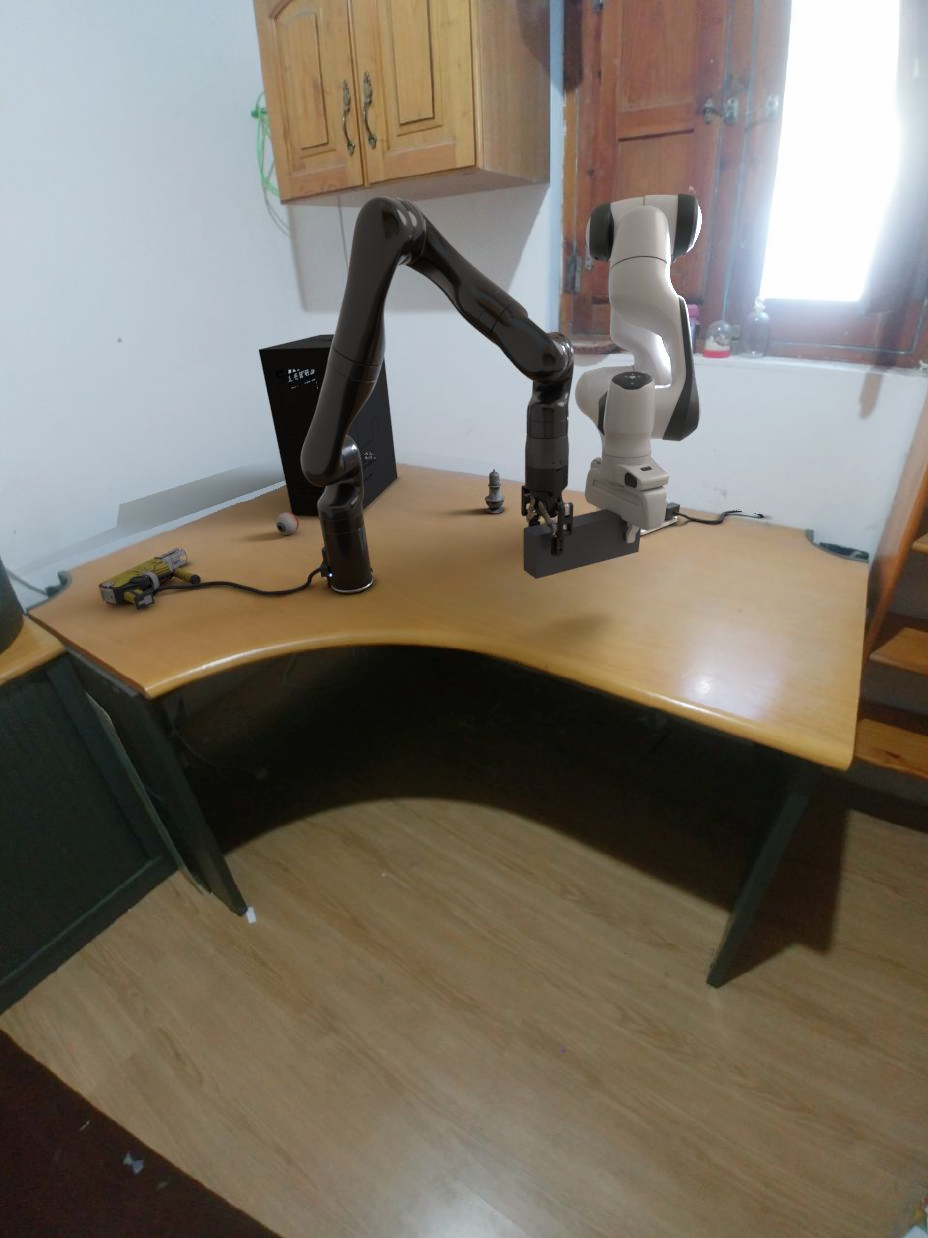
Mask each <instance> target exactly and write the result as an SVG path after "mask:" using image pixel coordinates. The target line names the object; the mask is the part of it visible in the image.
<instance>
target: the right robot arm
mask: <svg viewBox="0 0 928 1238" xmlns="http://www.w3.org/2000/svg"><path fill="white" fill-rule="evenodd" d="M700 208H701V207H700V206H699V200H698V199H697V197H696V196H695V195H692V194H687V193H681V192H679V193H678V194H645V195H644V196H638V197H631V198H626V199H620V200H616V201H613V202H612V201H611V200H609V201H605V202H602V203H599V204H597V205H596V206H595V207H594V208H593V209H592V211H591V212H590V216H589V219H588V221H587V224H586V228H585V242H586V246H587V250H588V252H589V256H590V257H591V258H592V259H593V260H594V261H595V262H600V263H604V264H605V263H606V264H608V263H609V269H608V270H609V271H608V272H609V273H608V301H609V304H610V318H609V319H610V321H609V336H610V338H611V341H612V342H613V343H614V344H615V345H616V346H618V347H619V348H621V349H623V350H624V351H627V352H629V353H631V354H632V357H633V363H634V364H631V365H619V366H603V367H598V368H595V369H590V370H587V371H584V372H583V373H582V374H581V376H580V377H579V378H578V379H577V383H576V385H575V390H574V400H575V403H576V405H577V407H578V409H579V410H580V412H582V414H583V415H585V416H586V417H588V418H589V419H590V420H591V421H592V422H593V424H594V426H595V427H596V429H597V431H598V434H599V436H600V437H599V438H600V443H601V457H600V456H598V457H595V458H594V459H592V461H591V462H590V465H589V466H590V468H589V470H588V472H587V475H586V482H585V489H584V498H585V501H586V503H588V504H589V505H592V506H594V507H595V511H594V512H596V511H600V510H604V509H608V510H610V511H612V512H614V513H616V514H618V515H620V516H621V519H623V520H625V521H627V522H628V523H627V526H628V527H629V529H628V531H627V532H625V533H623V540H624V541H625V542H627V543H632V542H634V541H635V534H636V533H637V531H638V530H639V528H641V532H640V536H645V535H646V534H650V533H652V532H654V531H657V530H660V529H662V528H665V527H668V526H670V525H672V524H675V523H677V522H678V516H680V517H682V518H685V519H686V520H689V521H694V522H698V523H703V524H718V523H722V521H724V517H725V515H730V514H735V513H737V514H738V513H743V512H742V511H737V510H738V509H733V510H725V511H724V512H722V513H721V515H720V518H719V519H715V520H714V519H713V520H711V519H710V520H709V519H701V518H696V517H693V516H689V515H687V514H685V513H682V512H680V510H681V504H680V503H676V502H673V501H672V502H670V501H669V498H668V493H667V490H666V488H665V486H667V485H668V484H669V481H670V475H669V473H668V472H667V470H665V469H664V468H662V467H661V466H660V465H659V464H658V463H657V462H656V460H655V459H654V458H652V444H651V440H662V441H669V442H681V441H683V440H684V439H686V438H687V437H689V436H690V435H692V434H693V433H694V432H695V431H696V430H697V429H698V427H699V424H700V421H701V415H702V406H701V405H702V403H701V400H700V395H699V391H698V383H697V378H696V370H695V361H694V351H693V341H692V332H691V325H690V316H689V310H688V307H687V303H686V301H685V298H684V297H682V296H681V295H679V294H677V293H676V291H675V289H674V287H673V285H672V283H671V277H670V271H671V269H670V268H671V267H670V266H671V264H675V263H676V260H677V259H678V258H681V257H682V256H685V255H686V254H687V253H688V252H689V251H690V250H691V249H693V248H694V245H695V242H696V240H697V238H698V236H699V233H700V230H701V225H702V213H701V209H700ZM663 341H664V342H663ZM664 343H666V344H665V345H666V346H667V350H668V352H667V351H666V348H665V346H664ZM735 510H736V511H735ZM754 514H755V515H757V516H758V517H759V518H762V519H765V518H766V517H765V516H764V514H762V513H761V514H756V513H754Z"/></svg>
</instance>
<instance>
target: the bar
mask: <svg viewBox="0 0 928 1238" xmlns="http://www.w3.org/2000/svg"><path fill="white" fill-rule="evenodd" d="M595 511H596V510H595ZM595 511H592V512H587V513H583V514H579V515H573V534H572V535H571V536H566V537H564V552H563V554H562V555H560V556H556V557H554V556H552V555H551V537H552V534H551V531H550V528H549V527H548V526H547V525H546V523H545V522H544V523H540V524H539V525H534V526H530V527H528V526H526V527H523V529H522V530H523V532H522V533H523V542H522V543H523V571H524V572H526V573H527V574H528V575H529V576H531V577H532V578H533V579H535V580H537V579H542V578H545V577H549V576H553V575H557V574H560V573H565V572H568V571H571V570H575V569H580V568H583V567H586V566H590V565H594V564H598V563H601V562H602V563H603V562H605V561H609V560H613V559H614V560H615V559H617V558H621V557H625V556H629V555H633V554H637V553H639V551H640V541H641V535H640V532H641V528H639V530H638V531H637V533H636V534H635V541H634V542H632V543H627V542H625V541H624V540H623V533H625V532H627V531H628V529H629V527H628V526H627V523H628V522H627V521H625V520H623V519H621V516H620V515H618V514H616V513H614V512H612V511H610V510H608V509H604V510H600V511H596V512H595ZM555 528H556V531H557V524H555ZM565 528H566V529H567V524H565Z"/></svg>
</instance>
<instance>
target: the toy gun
mask: <svg viewBox="0 0 928 1238" xmlns="http://www.w3.org/2000/svg"><path fill="white" fill-rule="evenodd" d="M183 556H185V560H184V559H181V558H182V557H183ZM188 562H189V560H188V554H187V551H186V549H183V548H181V549H180V548H179V547H175V548H174V549H172V550H169V551H168V552H165V553H163V554H161V555H159V556H155V557H152V558H151V559H148V560H146V561H145V562H142V563H140V564H138V565H136V566H134V567H132V568H130V569H128V570H125V571H123V572H121V573H119V574H117V575H115V576H113V577H111V578H108V579H106V580H104V581H102V582H100V583H99V584H98V589H99V592H100V596H101V599H102V601H103V602H105V604H106V605H110V606H111V605H114V604H115V605H121V604H126V603H132V604H134V605H135V609H136V611H141V610H144V609H145V608H147V607H149V606H153V605H154V604H155V603H156V602H155V599H154V596H153V593H152V592H153V591H154V590H155V589H157V588H159V587H160V584H164V583H166V582H168V581H171V580H172V579H173V578H176V579H179V580H182V581H183V582H186V583H188V584H190V585H192V584H198V583H202V579H201V576H200V575H199V574H195V573H193V572H190V571H187V570H185V569H183V568H181V566H183V565H185V564H188Z"/></svg>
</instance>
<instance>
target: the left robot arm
mask: <svg viewBox="0 0 928 1238" xmlns="http://www.w3.org/2000/svg"><path fill="white" fill-rule="evenodd" d="M398 266H406V267H408V268H410V269H412V270H414V271H416V272H417V273H419V274H421V275H422V276H424V277H425V278H427V279H428V280H429V281H430V282H431V283H433V284H434V285H435V286H436V287H437V288H438V289H439V290H440V291H441V292H442V293H443V295H445V297H446V298H447V300H448V301H449V302H450V304H451V305H452V306H453V307H454V310H456V311H457V313H458V314H459V315H460V316H461V317H462V318H463V319H464V320H465V321H466V322H467V323H468V324H469V325H470V326H472V328H474V330H476V331H477V332H478V333H479V334H481V335H482V336H483V337H485V338H486V339H487V340H488V341H490V342H491V343H492V344H493V345H495V346H496V347H498V348H499V349H500V351H501V352H502V353H503V355H504V356H505V357H506V358H507V359H508V360H509V361H510V362H511V364H512V365H513V366H514V367H515V368H516V369H517V370H518V371H519V372H520V373H521V374H522V375H523V376H524V377H526V378H527V379H529V380H530V381H532V388H531V389H532V390H531V396H530V399H529V401H528V403H527V407H526V415H525V416H526V417H525V418H526V419H525V420H526V422H525V423H526V426H525V427H526V435H525V436H526V437H525V446H524V485H521V487H520V488H521V489H520V490H521V491H520V492H521V494H520V495H521V496H520V497H521V498H520V499H521V501H520V511H521V512H520V513H521V514H520V515H521V516H522V517H525V521H526V522H527V527H530V526H534V525H539V524H541V521H540V520H541V518H543V520H544V523H546V525H547V526H548V527H549V528H550V531H551V534H552V537H551V555H552V556H554V557H556V556H560V555H562V554H563V552H564V537H566V536H571V535H572V534H573V517H574V503H573V502H572V501H569V502H565V501H564V499H563V491H565V490H566V488H567V487H568V485H569V466H570V465H569V462H570V441H569V423H570V422H569V421H570V420H569V415H570V412H569V411H570V410H569V404H570V402H569V401H570V397H571V391H572V386H573V385H572V384H573V379H574V378H573V377H574V370H575V350H574V346H573V344H572V342H571V340H570V339H569V337H568V336H566V335H565V334H563V333H562V332H559V331H549V332H546V331H545V330H544V329H542V328H541V327H540V326H539V325H538V324H537V323H536V322H534V321H533V320H532V319H531V318H530V317H529V314H528V311H527V309H526V308H525V307H524V306H523V305H522V304H521V303H520V302H519V301H518V300H517V299H515V298H514V297H513V296H511V295H510V294H509V293H508V292H507V291H505V290H504V289H503V288H501V286H499V285H498V284H496V283H495V282H494V281H493V280H492V279H490V278H489V277H488V276H486V275H485V274H484V273H483V272H482V271H480V269H478V268H477V267H476V266H475V265H474V264H472V263H471V262H470V261H469V260H468V259H466V258H465V257H464V255H462V254H461V253H460V252H459V251H458V250H457V249H456V248H455V247H454V246H453V245H452V244H451V242H449V241H448V239H447V238H446V237H445V236H444V235H443V234H442V233H441V232H440V231H439V230H438V228H436V226H435V225H434V224H433V223H432V222H431V220H430V219H429V218H428V216H427V215H426V214H424V212H423V211H422V210H421V209H420V208H419V207H418V206H417V205H416V204H415V203H414V202H413V201H411V200H410V199H407V198H404V197H401V196H389V195H388V196H387V195H377V196H373V197H371V198H369V199H367V200H366V202H364V204H362V206H361V207H360V209H359V211H358V213H357V216H356V218H355V223H354V228H353V233H352V240H351V248H350V255H349V262H348V269H347V275H346V276H347V277H346V281H345V288H344V292H343V296H342V300H341V304H340V309H339V313H338V316H337V317H338V318H337V322H336V326H335V331H334V333H333V334H334V337H333V340H332V345H331V349H330V353H329V357H328V361H327V366H326V372H325V376H324V380H323V384H322V388H321V391H320V395H319V400H318V404H317V408H316V411H315V415H314V418H313V420H312V423H311V426H310V429H309V431H308V434H307V437H306V439H305V442H304V445H303V448H302V452H301V467H302V470H303V473H304V475H305V477H306V478H307V480H308V481H309V482H310V483H312V484H313V485H315V486H320V487H324V486H326V488H325V491H324V493H323V495H322V496H321V497H320V499H319V501H318V504H317V507H318V513H319V516H318V518H319V523H320V530H321V534H322V540H323V547H321V549H320V551H321V556H322V561H321V564H320V566H318V567H317V568H315V569H314V570H313V571H311V572H310V573H309V574H308V576H307V580H306V582H305V583H304V584H302V585H301V586H298V587H296V588H292V589H286V590H272V591H271V590H270V591H269V590H261V589H258V588H254V587H252V586H247V585H243V584H239V583H236V582H232V581H224V580H215V581H213V580H212V581H205V582H200V583H198V584H183V585H182V584H181V585H180V584H176V585H175V584H172V585H171V584H169V585H162V586H159V588H157V589H155V590H154V591H152V593H153V597H155V596H156V595H157V594H158V593H160V592H162V591H167V590H193V589H198V588H205V587H212V586H228V587H232V588H237V589H240V590H243V591H248V592H252V593H254V594H258V595H262V596H283V595H290V594H293V593H296V592H299V591H303V590H305V589H307V588H309V586H310V585H311V583H312V579H313V577H314V576H315V575H317V574H319V573H320V577H321V578H325V579H326V583H327V588H329V589H331V590H332V591H334V592H335V593H338V594H343V595H350V594H357V593H362V592H364V591H366V590H368V589H370V588H372V586H373V584H374V578H373V573H374V570H373V568H372V565H371V559H370V551H369V545H368V538H367V531H366V524H365V517H364V510H363V509H362V501H363V497H364V485H363V474H362V464H361V457H360V453H359V450H358V447H357V445H356V443H355V442H354V440H353V439H352V438H351V437H350V436H349V435H347V432H348V430H349V427H350V425H351V424H352V422H353V420H354V419H355V417H356V416H357V414H358V413H359V412H360V410H361V409H362V407H363V406H364V404H365V403H366V401H367V400H368V398H369V396H370V395H371V393H372V391H373V389H374V387H375V385H376V382H377V379H378V376H379V372H380V369H381V366H382V362H383V359H384V358H385V353H386V343H387V341H386V339H387V338H386V323H385V308H386V303H387V299H388V294H389V292H390V289H391V285H392V282H393V279H394V276H395V274H396V272H397V268H398ZM528 504H529V505H528ZM527 506H528V507H527ZM556 517H557V518H556ZM555 524H557V531H556V528H555ZM565 524H567V529H566V528H565Z"/></svg>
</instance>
